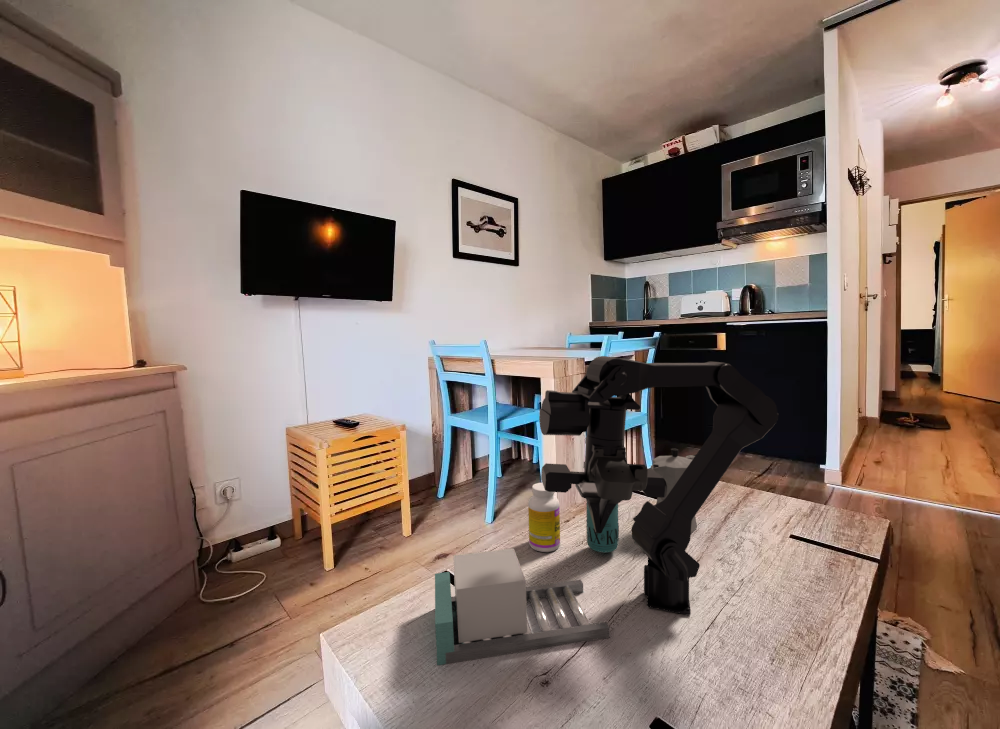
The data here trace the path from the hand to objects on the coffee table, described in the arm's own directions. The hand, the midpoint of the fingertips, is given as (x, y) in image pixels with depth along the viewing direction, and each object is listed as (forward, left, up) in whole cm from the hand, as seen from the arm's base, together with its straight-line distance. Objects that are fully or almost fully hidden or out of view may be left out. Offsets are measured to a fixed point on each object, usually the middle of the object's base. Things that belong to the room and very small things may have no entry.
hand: (598, 532), depth 65 cm
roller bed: (+11, +6, -13) cm, 18 cm away
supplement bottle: (+14, -17, -13) cm, 26 cm away
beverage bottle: (+2, -18, -13) cm, 22 cm away
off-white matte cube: (+16, +9, -12) cm, 21 cm away
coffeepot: (-13, -35, -13) cm, 40 cm away
